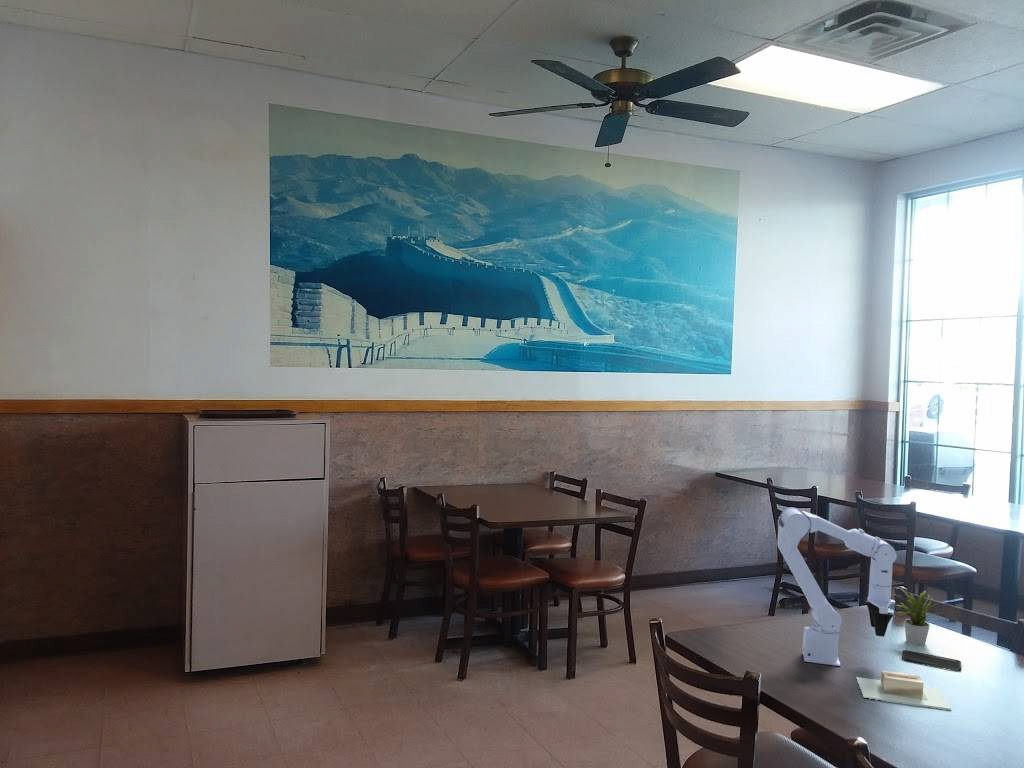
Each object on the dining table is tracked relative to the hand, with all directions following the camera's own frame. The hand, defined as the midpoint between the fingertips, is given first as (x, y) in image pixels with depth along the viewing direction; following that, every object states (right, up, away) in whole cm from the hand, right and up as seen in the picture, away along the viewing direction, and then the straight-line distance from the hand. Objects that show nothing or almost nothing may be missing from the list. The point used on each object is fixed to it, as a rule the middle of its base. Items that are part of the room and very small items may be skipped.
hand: (877, 631), depth 227 cm
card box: (-3, -10, -20) cm, 22 cm away
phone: (+17, -11, +4) cm, 20 cm away
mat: (-3, -10, -20) cm, 22 cm away
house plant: (+21, -10, +21) cm, 31 cm away
